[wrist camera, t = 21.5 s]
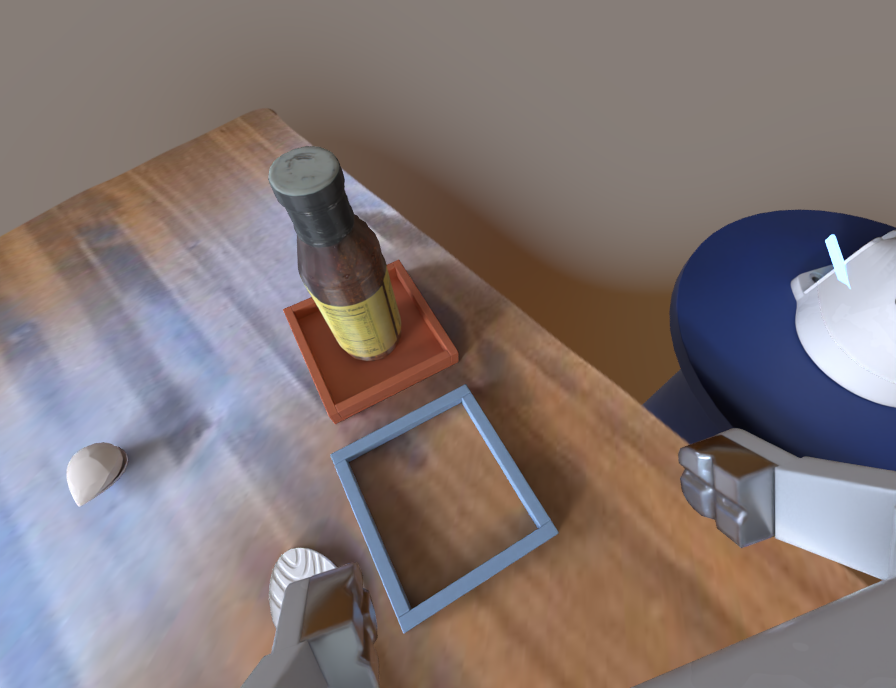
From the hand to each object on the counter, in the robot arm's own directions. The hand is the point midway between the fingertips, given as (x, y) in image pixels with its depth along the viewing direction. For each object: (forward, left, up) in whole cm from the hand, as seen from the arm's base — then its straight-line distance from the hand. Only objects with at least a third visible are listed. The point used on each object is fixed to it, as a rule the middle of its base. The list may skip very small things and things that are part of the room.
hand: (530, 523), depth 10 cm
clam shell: (+24, -21, -25) cm, 41 cm away
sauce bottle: (-1, -22, -25) cm, 33 cm away
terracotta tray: (-1, -22, -25) cm, 33 cm away
